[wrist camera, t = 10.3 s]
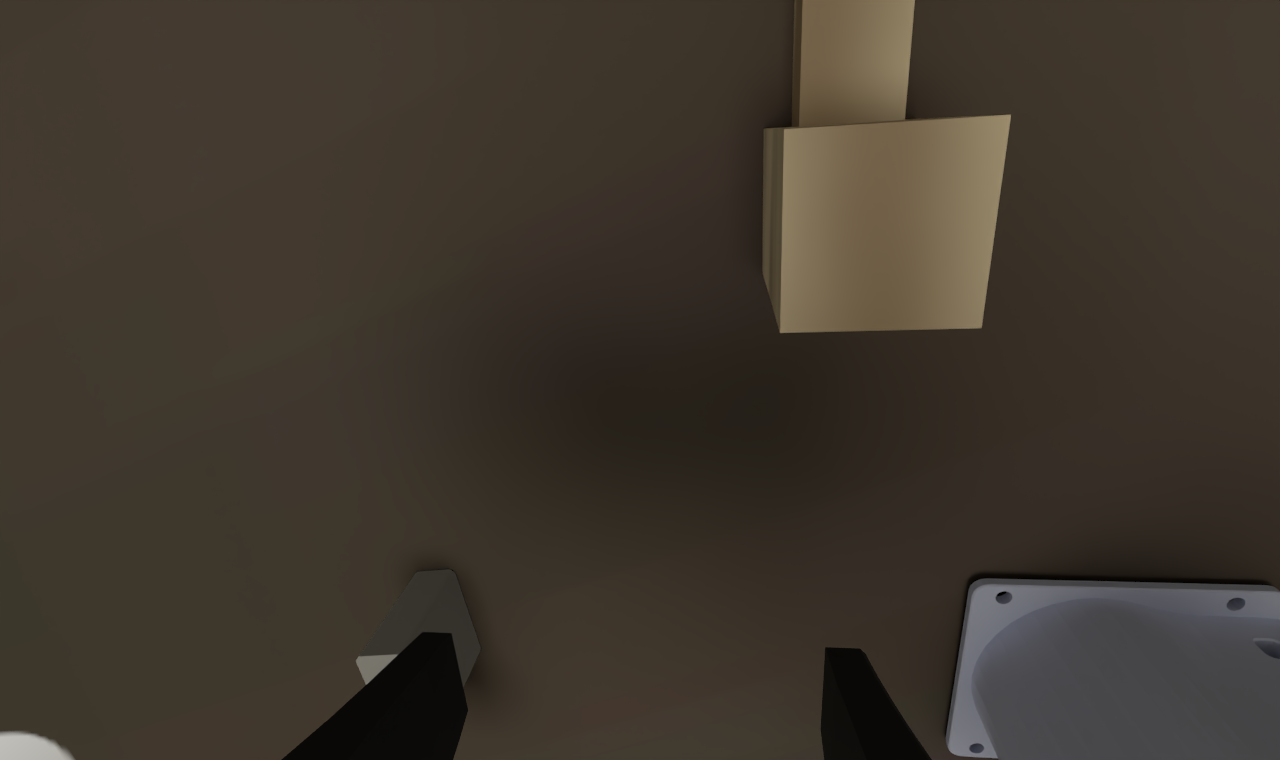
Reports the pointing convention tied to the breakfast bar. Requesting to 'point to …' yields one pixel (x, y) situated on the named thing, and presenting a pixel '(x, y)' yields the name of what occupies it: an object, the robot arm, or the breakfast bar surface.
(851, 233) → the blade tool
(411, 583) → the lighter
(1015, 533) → the breakfast bar surface
